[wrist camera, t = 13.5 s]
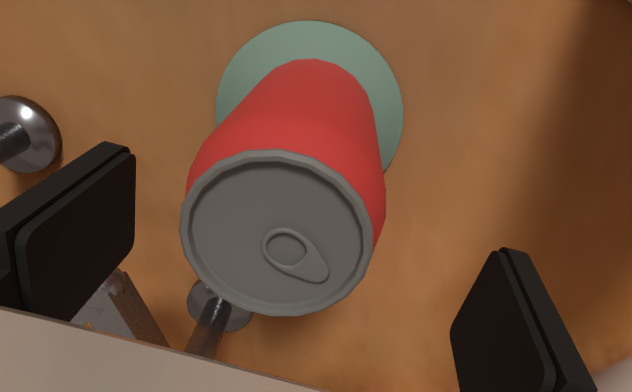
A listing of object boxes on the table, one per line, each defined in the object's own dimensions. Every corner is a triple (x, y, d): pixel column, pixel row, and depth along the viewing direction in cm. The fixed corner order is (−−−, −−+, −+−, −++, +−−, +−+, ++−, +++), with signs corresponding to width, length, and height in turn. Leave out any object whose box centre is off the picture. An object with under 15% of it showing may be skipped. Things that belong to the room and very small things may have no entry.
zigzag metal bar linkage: (284, 161, 25) (249, 255, 16) (248, 329, 31) (209, 461, 22) (-19, 86, 24) (-218, 144, 16) (5, 273, 30) (-129, 387, 22)
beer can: (317, 198, 25) (290, 363, 14) (225, 124, 23) (117, 246, 13) (400, 116, 22) (444, 241, 12) (303, 26, 21) (252, 75, 10)
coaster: (429, 48, 21) (431, 50, 21) (371, 217, 26) (371, 222, 25) (232, -3, 21) (228, -3, 20) (208, 177, 25) (205, 182, 25)
